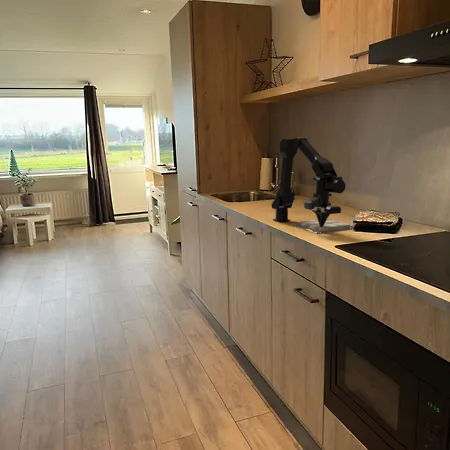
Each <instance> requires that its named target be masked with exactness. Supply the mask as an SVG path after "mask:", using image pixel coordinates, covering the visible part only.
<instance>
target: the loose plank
mask: <svg viewBox="0 0 450 450" xmlns="http://www.w3.org/2000/svg"><path fill="white" fill-rule="evenodd" d="M298 224H299V225H302V226H305V227H308V228H311V229H314V230H317V231H328V230H338V229H339V226H337V225H334V224H330V223H326V222H325V224H324V226H323V227H320V225H319V222H318V219H313V220H301V221H299V222H298Z"/></svg>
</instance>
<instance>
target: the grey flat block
mask: <svg viewBox="0 0 450 450" xmlns="http://www.w3.org/2000/svg"><path fill="white" fill-rule="evenodd" d="M326 223H330V224H334V225H337V226H339V229H346V228H350V224H349V223H345V222H341V221H338V220H333V219H331V218H327V220H326Z"/></svg>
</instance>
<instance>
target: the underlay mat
mask: <svg viewBox="0 0 450 450" xmlns="http://www.w3.org/2000/svg"><path fill="white" fill-rule="evenodd" d="M291 226H292V227H295V226H296V227H295V228H298V227H299V228H298V229H301V228H302V229H301V230H304V229H310V230H312V231H313V232H317V233H319V234H321V233H320V232H327V233H333V231H335V232H342V230H343V231H348V230H349V229H351V230H353V228H346V229H338V230H328V231H317V230H314V229H311V228H308V227H305V226H302V225H299V223H298V224H297V223H296V224H292V225H291ZM349 231H350V230H349ZM313 232H312V233H313Z"/></svg>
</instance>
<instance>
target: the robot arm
mask: <svg viewBox="0 0 450 450" xmlns="http://www.w3.org/2000/svg"><path fill="white" fill-rule="evenodd" d="M298 149H299V150H300V152H301V153H302V154H303V156H305V158H306V159H307V160H308V161H309V162H310V164H311V168H312V170H313V173H315V176H313V177H312V180H313V181H315V192H314V193H313V195H312V197H310V198H308V199H305V200H304V201H303V206H304V207H303V208H304V209H306V210H309V211H312V213H314V214H315V216H316V218H317V219H316V220H318V222H319V225H320V227H323V226H324V224H325V222H326V220H327V219H329V217H330V215H334V214H335V215H336V214H342V207H341V206H340V205H333V204H332V203H331V202H330V197H332V194H333V193H334V194H339V195H340V194H343V193H344V192H345V190H346V183H345V180H343V176H338V174H337V172H336V170H335V168H334V164H333V162H331V161H330V160H329V159H328V158H326V157H323V156H322V155H320V154H319V152H318V151H317V150H316V149H315V148H314V147H313V146H312V144H311V143H310V142H309V141H308V138H307V137H305V136H303V137H300V136H299V137H295V138H282V140H280V142H279V153H280V155H281V157H282V159H281V160H282V162H281V174H280V186H279V189H278V190H277V191H276V193H275V198H274V200H273V201H272V203H271V204H270V205H271V209H274V210H275V218H273V219H272V220H273V221H275V222H279V223H281V222H290V221H291V219H289V209H292V206H293V203H294V201H295V192H294V191H293V190H292V179H293V176H292V175H293V165H294V158H295V156H296V155H297V153H298Z"/></svg>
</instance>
